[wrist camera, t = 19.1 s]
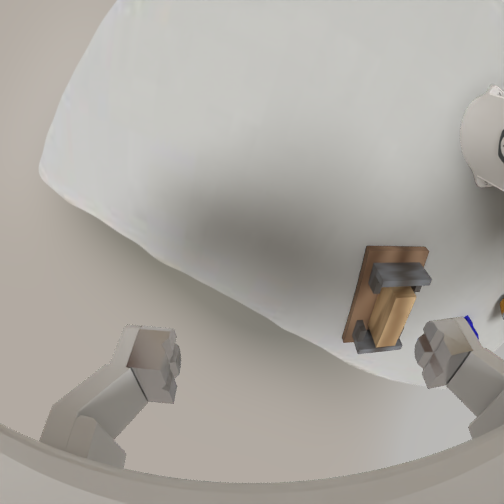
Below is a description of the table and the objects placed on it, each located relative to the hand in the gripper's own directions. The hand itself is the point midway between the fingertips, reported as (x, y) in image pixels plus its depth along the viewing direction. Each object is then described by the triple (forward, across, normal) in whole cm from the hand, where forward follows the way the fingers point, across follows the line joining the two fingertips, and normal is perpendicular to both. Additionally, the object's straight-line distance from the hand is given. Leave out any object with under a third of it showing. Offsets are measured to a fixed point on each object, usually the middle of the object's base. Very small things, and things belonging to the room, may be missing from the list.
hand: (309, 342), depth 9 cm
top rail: (+33, -23, +28) cm, 49 cm away
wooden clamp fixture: (+34, -23, +28) cm, 50 cm away
